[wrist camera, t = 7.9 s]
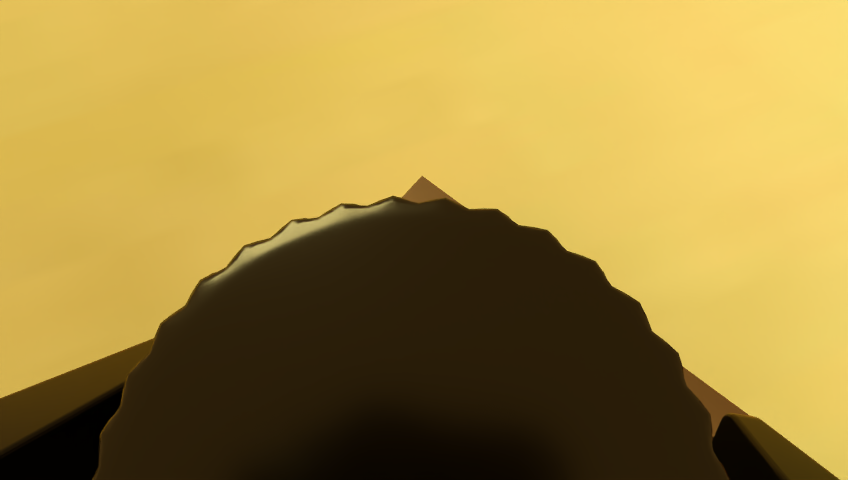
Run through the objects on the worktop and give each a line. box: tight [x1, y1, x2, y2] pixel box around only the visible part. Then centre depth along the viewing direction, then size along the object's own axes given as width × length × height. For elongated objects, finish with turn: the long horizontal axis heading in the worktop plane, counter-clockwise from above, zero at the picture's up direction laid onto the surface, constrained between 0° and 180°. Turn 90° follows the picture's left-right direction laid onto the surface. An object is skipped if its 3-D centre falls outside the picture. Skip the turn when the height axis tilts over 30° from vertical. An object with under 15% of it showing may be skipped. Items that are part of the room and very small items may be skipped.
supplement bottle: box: [92, 196, 730, 480], centre depth 9 cm, size 7×7×12 cm
